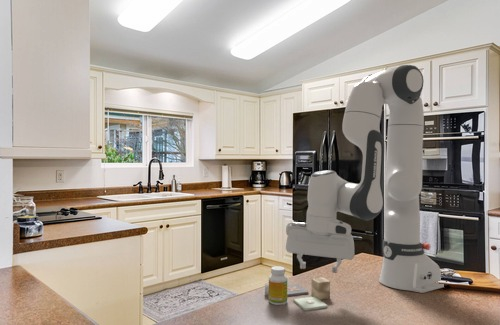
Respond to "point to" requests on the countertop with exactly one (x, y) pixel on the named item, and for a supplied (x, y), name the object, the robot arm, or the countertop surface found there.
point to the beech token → (320, 288)
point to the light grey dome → (267, 289)
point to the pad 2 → (310, 303)
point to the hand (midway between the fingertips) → (318, 270)
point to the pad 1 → (295, 290)
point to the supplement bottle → (278, 286)
